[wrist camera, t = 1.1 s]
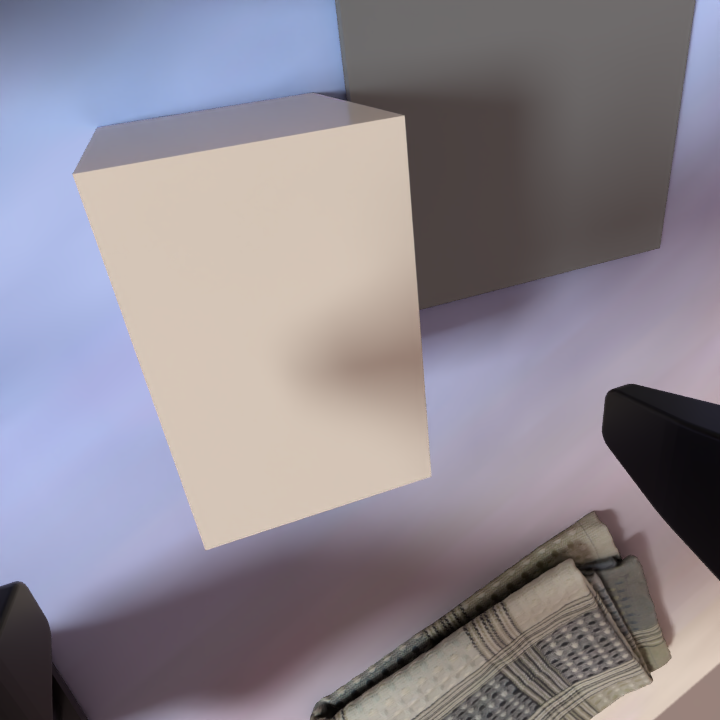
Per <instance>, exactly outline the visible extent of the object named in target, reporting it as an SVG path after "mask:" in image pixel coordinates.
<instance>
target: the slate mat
mask: <svg viewBox="0 0 720 720" xmlns="http://www.w3.org/2000/svg"><path fill="white" fill-rule="evenodd" d="M335 4H336V13H337V21H338V30H339V38H340V46H341V55H342V63H343V72H344V80H345V89H346V97H347V101H349V102H353V103H357V104H361V105H365V106H369V107H373V108H377V109H381V110H385V111H389V112H393V113H397V114H401V115H405V127H406V141H407V154H408V168H409V181H410V195H411V209H412V222H413V236H414V249H415V263H416V276H417V290H418V303H419V310H421V309H425V308H429V307H432V306H436V305H440V304H444V303H448V302H452V301H456V300H460V299H463V298H467V297H471V296H475V295H479V294H483V293H487V292H491V291H495V290H498V289H502V288H506V287H510V286H514V285H518V284H522V283H526V282H529V281H533V280H537V279H541V278H545V277H549V276H553V275H557V274H561V273H564V272H568V271H572V270H576V269H580V268H584V267H588V266H592V265H595V264H599V263H603V262H607V261H611V260H615V259H619V258H623V257H627V256H630V255H634V254H638V253H642V252H646V251H650V250H654V249H658V248H660V243H661V236H662V229H663V222H664V215H665V208H666V201H667V194H668V187H669V180H670V173H671V166H672V159H673V152H674V145H675V138H676V131H677V124H678V118H679V111H680V104H681V97H682V90H683V83H684V76H685V69H686V62H687V55H688V48H689V41H690V34H691V27H692V20H693V13H694V6H695V0H335Z"/></svg>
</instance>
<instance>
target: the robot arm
mask: <svg viewBox="0 0 720 720" xmlns="http://www.w3.org/2000/svg"><path fill="white" fill-rule="evenodd" d="M602 434H603V438H604V441H605V443H606V444H607V446H608V447H609V449H610V450H611V451H612V453H613V454H614V455H615V457H616V458H617V459H618V461H619V462H620V463H621V465H622V466H623V467H624V469H625V470H626V471H627V473H628V474H629V475H630V477H631V478H632V479H633V481H634V482H635V483H636V484H637V486H638V487H639V488H640V490H641V491H642V492H643V494H644V495H645V496H646V498H647V499H648V500H649V502H650V503H651V504H652V506H653V507H654V508H655V509H656V511H657V512H658V513H659V514H660V516H661V517H662V518H663V519H664V520H665V521H666V523H667V524H668V525H669V526H670V527H671V528H672V529H673V531H674V532H675V533H676V534H677V535H678V536H679V537H680V538H681V539H682V540H683V541H684V542H685V544H686V545H687V546H688V547H689V548H690V549H691V550H692V551H693V552H694V553H695V554H696V556H697V557H698V558H699V559H700V560H701V561H702V562H703V563H704V564H705V565H706V566H707V567H708V569H709V570H710V571H711V572H712V573H713V574H714V575H715V576H716V577H717V578H718V579H719V581H720V405H718V404H714V403H710V402H706V401H701V400H697V399H693V398H689V397H685V396H681V395H677V394H673V393H669V392H665V391H661V390H657V389H652V388H648V387H644V386H640V385H636V384H627V385H624V386H621V387H617V388H614V389H612V390H610V391H609V392H608V393H607V395H606V397H605V404H604V414H603V423H602ZM0 720H88V719H87V718H86V716H85V714H84V713H83V711H82V710H81V708H80V706H79V705H78V703H77V702H76V700H75V698H74V697H73V695H72V694H71V692H70V690H69V689H68V687H67V686H66V684H65V682H64V681H63V679H62V677H61V676H60V674H59V673H58V671H57V669H56V668H55V666H54V665H53V663H52V656H51V631H50V627H49V623H48V620H47V619H46V617H45V615H44V613H43V612H42V610H41V608H40V607H39V605H38V604H37V602H36V600H35V599H34V597H33V595H32V594H31V592H30V590H29V589H28V587H27V586H26V585H25V584H24V583H23V582H19V581H16V582H12V583H9V584H6V585H3V586H0Z"/></svg>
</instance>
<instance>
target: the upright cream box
mask: <svg viewBox="0 0 720 720" xmlns="http://www.w3.org/2000/svg"><path fill="white" fill-rule="evenodd" d="M73 177H74V180H75V182H76V185H77V188H78V191H79V194H80V197H81V199H82V202H83V205H84V208H85V211H86V214H87V216H88V219H89V222H90V225H91V228H92V231H93V233H94V236H95V239H96V242H97V245H98V247H99V250H100V253H101V256H102V259H103V262H104V264H105V267H106V270H107V273H108V276H109V279H110V281H111V284H112V287H113V290H114V293H115V296H116V298H117V301H118V304H119V307H120V310H121V312H122V315H123V318H124V321H125V324H126V327H127V329H128V332H129V335H130V338H131V341H132V344H133V346H134V349H135V352H136V355H137V358H138V361H139V363H140V366H141V369H142V372H143V375H144V377H145V380H146V383H147V386H148V389H149V392H150V394H151V397H152V400H153V403H154V406H155V409H156V411H157V414H158V417H159V420H160V423H161V426H162V428H163V431H164V434H165V437H166V440H167V442H168V445H169V448H170V451H171V454H172V457H173V459H174V462H175V465H176V468H177V471H178V474H179V476H180V479H181V482H182V485H183V488H184V491H185V493H186V496H187V499H188V502H189V505H190V508H191V510H192V513H193V516H194V519H195V522H196V524H197V527H198V530H199V533H200V536H201V539H202V541H203V544H204V547H205V550H208V549H211V548H214V547H217V546H221V545H224V544H227V543H230V542H233V541H236V540H239V539H242V538H245V537H248V536H251V535H254V534H257V533H260V532H263V531H266V530H269V529H272V528H276V527H279V526H282V525H285V524H288V523H291V522H294V521H297V520H300V519H303V518H306V517H309V516H312V515H315V514H318V513H321V512H324V511H327V510H331V509H334V508H337V507H340V506H343V505H346V504H349V503H352V502H355V501H358V500H361V499H364V498H367V497H370V496H373V495H376V494H379V493H382V492H386V491H389V490H392V489H395V488H398V487H401V486H404V485H407V484H410V483H413V482H416V481H419V480H422V479H425V478H428V477H431V466H430V453H429V439H428V426H427V412H426V398H425V385H424V371H423V358H422V344H421V331H420V317H419V303H418V290H417V276H416V263H415V249H414V236H413V222H412V209H411V195H410V181H409V168H408V154H407V141H406V127H405V115H401V114H397V113H393V112H389V111H385V110H381V109H377V108H373V107H369V106H365V105H361V104H357V103H353V102H349V101H345V100H341V99H337V98H332V97H328V96H324V95H320V94H316V93H307V94H300V95H294V96H288V97H282V98H276V99H270V100H263V101H257V102H251V103H245V104H239V105H232V106H226V107H220V108H214V109H208V110H202V111H195V112H189V113H183V114H177V115H171V116H164V117H158V118H152V119H146V120H140V121H134V122H127V123H121V124H115V125H109V126H103V127H97V128H96V130H95V132H94V134H93V136H92V138H91V140H90V142H89V144H88V145H87V147H86V149H85V151H84V153H83V155H82V157H81V159H80V161H79V163H78V165H77V167H76V169H75V170H74V172H73Z"/></svg>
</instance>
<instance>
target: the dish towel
mask: <svg viewBox="0 0 720 720" xmlns="http://www.w3.org/2000/svg"><path fill="white" fill-rule="evenodd" d="M670 659H671V655H670V651H669V649H668V646H667V644H666V641H665V639H664V638H663V635H662V630H661V628H660V626H659V623H658V620H657V618H656V612H655V608H654V604H653V602H652V599H651V597H650V595H649V591H648V587H647V583H646V580H645V576H644V573H643V570H642V566H641V564H640V562H639V561H638V560H637V557H635V556H628V557H626V558H625V559H624V560H622V558H621V556H620V554H619V552H618V549H617V548H616V546H615V545H614V542H613V538H612V536H611V534H610V533H609V531H608V528H607V526H606V525H605V524H603V523H602V522H600V520H599V519H598V518H597V516H596V513H595V512H594V511H593V512H591V513H589V514H587V515H586V516H584V517H583V518H581V519H580V520H579V521H577V522H576V523H575V524H573V525H572V526H570V527H569V528H567V529H566V530H564V531H562V532H561V533H560V534H558V535H556V536H555V537H553V538H552V539H550V540H549V541H547V542H546V543H544V544H543V545H541V546H539V547H537V548H536V549H535V550H534V551H533V552H532V553H530V554H529V555H528V556H526V557H524V558H523V559H521V560H520V561H519V562H518V563H516V564H515V565H514V566H512V567H510V568H509V569H508V570H506V571H505V572H504V573H502V574H501V575H500V576H499V577H497V578H495V579H494V580H492V581H491V582H490V583H489V584H487V585H486V586H485V587H483V588H482V589H480V590H479V591H477V592H476V593H475V594H473V595H472V596H471V597H469V598H468V599H466V600H465V601H463V602H462V603H461V604H459V605H458V606H457V607H455V608H454V609H453V610H451V611H450V612H448V613H447V614H446V615H444V616H443V617H441V618H440V619H439V620H437V621H436V622H434V623H433V624H431V625H430V626H428V627H427V628H425V629H423V630H422V631H420V632H419V633H417V634H415V635H414V636H413V637H412V638H411V639H409V640H408V641H407V642H405V643H403V644H401V645H400V646H399V647H398V648H396V649H395V650H394V651H392V652H391V653H389V654H387V655H386V656H384V657H383V658H382V659H381V660H380V661H378V662H377V663H375V664H374V665H372V666H370V667H369V668H368V669H367V670H366V671H364V672H363V673H361V674H360V675H358V676H356V677H355V678H353V679H352V680H351V681H350V682H348V683H347V684H346V685H344V686H342V687H340V688H339V689H338V690H336V691H335V692H334V693H332V694H331V695H329V696H326V697H324V698H322V699H321V700H320V701H319V702H317V703H316V705H315V707H314V709H313V712H312V714H311V717H310V720H590V719H591V718H592V717H593V716H595V715H596V714H598V713H599V712H601V711H602V710H603V709H605V708H606V707H608V706H609V705H611V704H612V703H613V702H615V701H616V700H617V699H619V698H620V697H622V696H624V695H625V694H627V693H629V692H632V691H635V690H638V689H639V688H642V687H644V686H646V685H649V684H651V683H652V681H653V678H652V676H651V674H650V673H651V672H653V671H655V670H657V669H659V668H660V667H662V666H664V665H665V664H666V663H667V662H668V661H669V660H670Z"/></svg>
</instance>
